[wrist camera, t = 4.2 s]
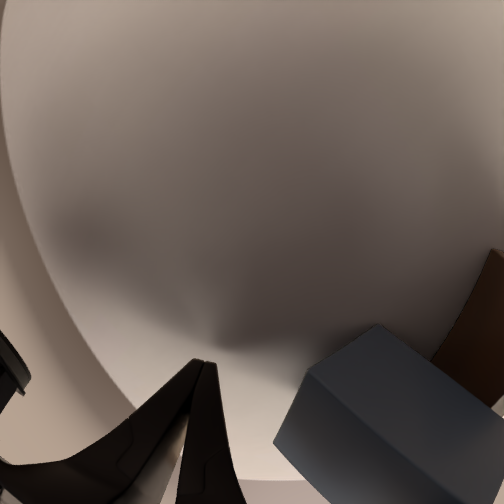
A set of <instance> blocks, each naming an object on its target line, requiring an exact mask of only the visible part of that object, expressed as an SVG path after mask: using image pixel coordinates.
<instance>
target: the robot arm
mask: <svg viewBox="0 0 504 504" xmlns="http://www.w3.org/2000/svg"><path fill="white" fill-rule="evenodd" d="M15 392H18V393H19V394H21V395H22V396H24V395H25V391H24V390H23V389H22V387H21V386H20V384H19V383H18V382H17V380H16V379H15V377H14V376H13V374H12V373H11V371H10V370H9V368H8V366H7V365H6V363H5V362H4V360H3V358H2V357H1V355H0V414H1V412H2V411H3V409H4V408H5V406H6V405H7V403H8V402H9V400H10V399H11V397H12V396H13V394H14V393H15ZM183 445H184V448H183V455H182V461H181V468H180V474H179V481H178V488H177V497H176V502H175V504H247V503H246V501H245V498H244V496H243V493H242V491H241V488H240V485H239V483H238V480H237V477H236V474H235V471H234V467H233V463H232V458H231V453H230V447H229V442H228V436H227V431H226V424H225V418H224V412H223V405H222V399H221V392H220V385H219V377H218V370H217V364H216V363H214V362H209V361H205V362H204V360H200V359H196V358H194V359H192V360H191V361H190V362H188V363H187V364H186V365H185V366H184V367H183V368H182V369H181V370H180V371H179V372H178V373H177V374H176V375H174V376H173V377H172V378H171V379H170V380H169V381H168V382H167V383H166V384H165V385H164V386H163V387H161V388H160V389H159V390H158V391H157V392H156V393H155V394H154V395H153V396H152V397H150V398H149V399H148V400H147V401H146V402H145V403H144V404H143V405H141V406H140V407H139V408H138V409H137V410H136V411H135V412H134V413H133V414H131V415H130V416H129V419H128V418H127V419H125V420H124V421H123V422H122V423H121V424H120V425H119V426H117V427H116V428H115V429H114V430H112V431H111V432H110V433H108V434H107V435H105V436H104V437H102V438H101V439H99V440H98V441H96V442H95V443H93V444H92V445H90V446H88V447H87V448H85V449H83V450H82V451H80V452H79V453H77V454H75V455H73V456H71V457H69V458H67V459H64V460H61V461H54V462H46V463H38V464H26V465H12V464H10V463H9V462H8V461H6V460H5V459H3V458H2V457H1V456H0V504H160V502H161V499H162V497H163V495H164V492H165V490H166V487H167V485H168V482H169V479H170V477H171V475H172V472H173V470H174V467H175V465H176V462H177V460H178V457H179V455H180V452H181V450H182V447H183Z"/></svg>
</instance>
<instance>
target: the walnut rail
mask: <svg viewBox="0 0 504 504" xmlns="http://www.w3.org/2000/svg"><path fill="white" fill-rule="evenodd" d="M431 363H432V364H433V365H435V366H436V367H437V368H439V369H440V370H441V371H443V372H444V373H445V374H447V375H448V376H449V377H451V378H452V379H453V380H454V381H456V382H457V383H458V384H460V385H461V386H462V387H464V388H465V389H466V390H467V391H469V392H470V393H471V394H473V395H474V396H475V397H477V398H478V399H479V400H480V401H482V402H483V403H484V404H485V405H487V406H488V407H489V408H491V409H492V410H493V411H494V412H496V413H497V414H498V415H499V416H501V417H503V416H504V252H503V251H500V250H496V249H491V252H490V254H489V257H488V259H487V262H486V264H485V266H484V269H483V271H482V273H481V275H480V277H479V280H478V282H477V284H476V286H475V288H474V290H473V292H472V294H471V296H470V298H469V300H468V302H467V304H466V305H465V307H464V309H463V311H462V313H461V315H460V316H459V318H458V320H457V322H456V323H455V325H454V327H453V328H452V330H451V332H450V333H449V335H448V336H447V338H446V340H445V341H444V343H443V344H442V346H441V347H440V349H439V350H438V352H437V353H436V355H435V356H434V358H433V359H432V361H431Z"/></svg>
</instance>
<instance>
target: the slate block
mask: <svg viewBox="0 0 504 504" xmlns="http://www.w3.org/2000/svg"><path fill="white" fill-rule="evenodd" d="M273 444H274V445H275V446H276V447H277V449H278V450H279V451H280V452H281V453H282V454H283V455H284V456H285V458H286V459H287V460H288V461H289V462H290V463H291V464H292V465H293V466H294V467H295V468H296V469H297V470H298V472H299V473H300V474H301V475H302V476H303V477H304V478H305V479H306V480H307V481H308V482H309V483H310V484H311V485H312V486H313V487H314V488H315V489H316V490H317V491H318V492H319V493H320V494H321V495H322V496H323V497H324V498H326V499H327V500H328V501H329V502H330V503H331V504H493V502H494V500H495V498H496V496H497V494H498V491H499V489H500V487H501V484H502V482H503V479H504V419H503V418H502V417H501V416H499V415H498V414H497V413H496V412H494V411H493V410H492V409H491V408H489V407H488V406H487V405H485V404H484V403H483V402H482V401H480V400H479V399H478V398H477V397H475V396H474V395H473V394H471V393H470V392H469V391H467V390H466V389H465V388H464V387H462V386H461V385H460V384H458V383H457V382H456V381H454V380H453V379H452V378H451V377H449V376H448V375H447V374H445V373H444V372H443V371H441V370H440V369H439V368H437V367H436V366H435V365H433V364H432V363H431V362H429V361H428V360H427V359H425V358H424V357H423V356H421V355H420V354H419V353H417V352H416V351H415V350H413V349H412V348H411V347H409V346H408V345H407V344H405V343H404V342H403V341H401V340H400V339H399V338H397V337H396V336H395V335H393V334H392V333H391V332H389V331H388V330H387V329H385V328H384V327H382V326H381V325H380V324H377V325H375V326H374V327H372V328H371V329H370V330H368V331H367V332H365V333H364V334H362V335H361V336H359V337H358V338H357V339H355V340H354V341H352V342H351V343H349V344H348V345H346V346H344V347H343V348H341V349H340V350H338V351H337V352H335V353H333V354H332V355H330V356H329V357H327V358H325V359H324V360H322V361H320V362H319V363H317V364H315V365H314V366H312V367H310V368H309V369H308V370H307V372H306V374H305V376H304V378H303V381H302V383H301V385H300V387H299V390H298V392H297V394H296V396H295V398H294V400H293V403H292V405H291V407H290V409H289V411H288V413H287V415H286V417H285V419H284V421H283V423H282V425H281V427H280V429H279V431H278V433H277V435H276V437H275V439H274V441H273Z"/></svg>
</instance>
